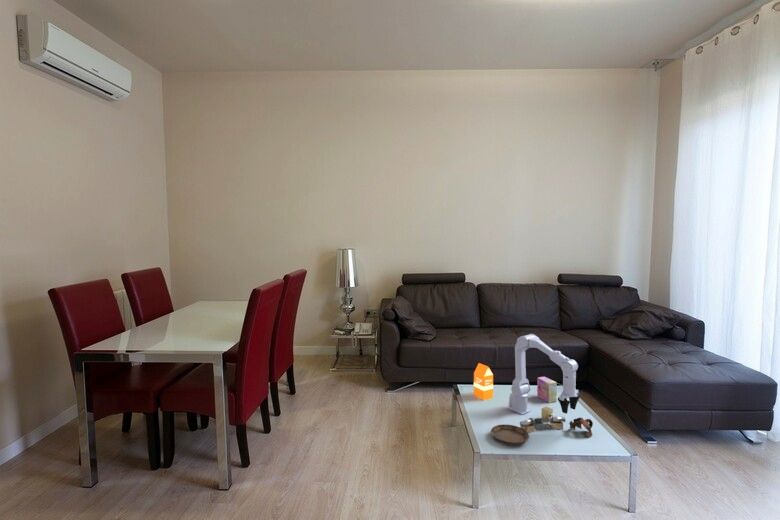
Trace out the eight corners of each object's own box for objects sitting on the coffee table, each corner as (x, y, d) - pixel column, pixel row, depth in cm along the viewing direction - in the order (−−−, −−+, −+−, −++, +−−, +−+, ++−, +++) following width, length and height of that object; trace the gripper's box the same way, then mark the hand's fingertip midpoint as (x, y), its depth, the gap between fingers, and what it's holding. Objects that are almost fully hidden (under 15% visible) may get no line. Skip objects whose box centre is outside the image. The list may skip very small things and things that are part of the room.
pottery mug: (585, 441, 184) (576, 424, 186) (572, 440, 192) (563, 424, 194) (601, 429, 189) (592, 413, 191) (587, 429, 197) (579, 414, 199)
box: (536, 396, 235) (537, 377, 235) (544, 395, 237) (545, 376, 237) (548, 403, 226) (549, 383, 225) (556, 401, 227) (557, 382, 227)
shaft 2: (550, 428, 195) (550, 418, 195) (547, 424, 199) (547, 414, 199) (566, 429, 195) (566, 418, 194) (562, 425, 199) (563, 414, 199)
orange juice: (483, 400, 229) (483, 368, 228) (473, 395, 237) (473, 363, 236) (493, 398, 233) (493, 365, 232) (483, 393, 241) (483, 361, 240)
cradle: (537, 430, 194) (537, 425, 193) (530, 423, 201) (530, 418, 200) (549, 429, 195) (549, 424, 195) (541, 422, 202) (541, 417, 202)
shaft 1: (529, 426, 198) (529, 415, 197) (536, 430, 194) (536, 419, 193) (518, 430, 194) (518, 419, 194) (524, 433, 190) (524, 422, 190)
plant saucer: (489, 428, 196) (489, 422, 196) (525, 431, 194) (525, 425, 193) (492, 447, 179) (492, 440, 179) (532, 450, 176) (532, 443, 176)
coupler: (540, 418, 206) (540, 407, 206) (544, 416, 209) (544, 405, 208) (549, 422, 202) (549, 411, 201) (553, 420, 204) (554, 409, 204)
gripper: (569, 390, 185) (568, 417, 185) (584, 383, 193) (584, 409, 194) (555, 385, 190) (555, 412, 191) (571, 379, 199) (570, 404, 200)
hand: (568, 410), depth 193 cm, fingers open, 7 cm apart
